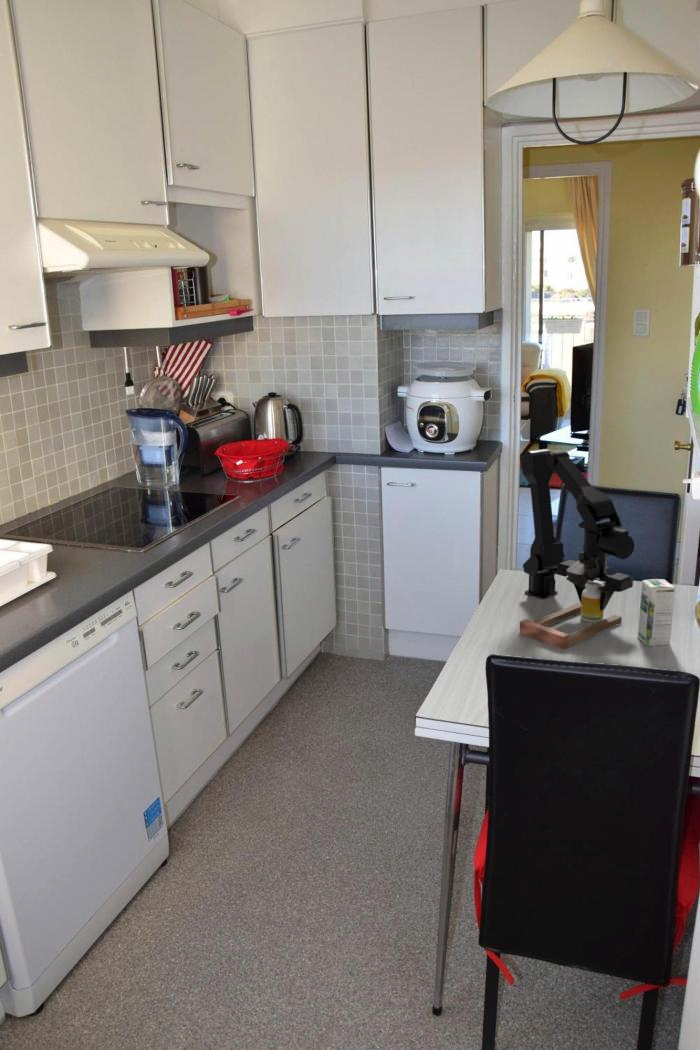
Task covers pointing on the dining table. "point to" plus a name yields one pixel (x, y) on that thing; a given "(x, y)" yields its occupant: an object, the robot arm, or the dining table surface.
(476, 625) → the dining table surface
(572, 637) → the frame
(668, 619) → the syrup box
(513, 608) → the dining table surface
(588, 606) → the supplement bottle
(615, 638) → the dining table surface
